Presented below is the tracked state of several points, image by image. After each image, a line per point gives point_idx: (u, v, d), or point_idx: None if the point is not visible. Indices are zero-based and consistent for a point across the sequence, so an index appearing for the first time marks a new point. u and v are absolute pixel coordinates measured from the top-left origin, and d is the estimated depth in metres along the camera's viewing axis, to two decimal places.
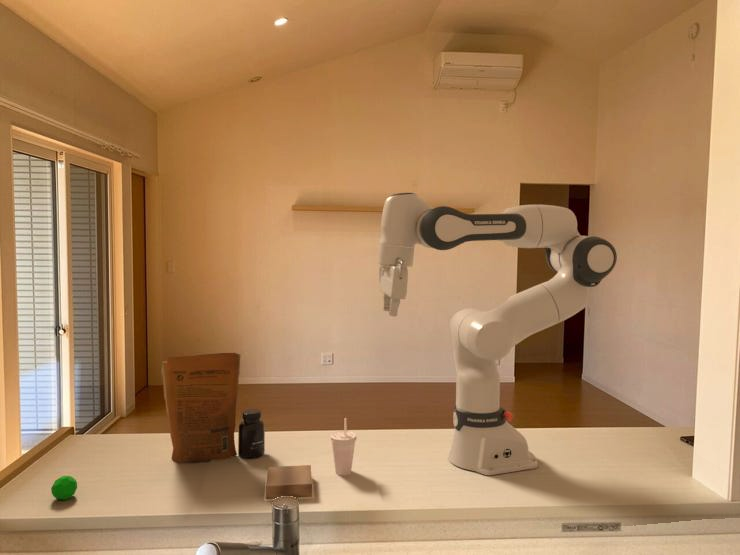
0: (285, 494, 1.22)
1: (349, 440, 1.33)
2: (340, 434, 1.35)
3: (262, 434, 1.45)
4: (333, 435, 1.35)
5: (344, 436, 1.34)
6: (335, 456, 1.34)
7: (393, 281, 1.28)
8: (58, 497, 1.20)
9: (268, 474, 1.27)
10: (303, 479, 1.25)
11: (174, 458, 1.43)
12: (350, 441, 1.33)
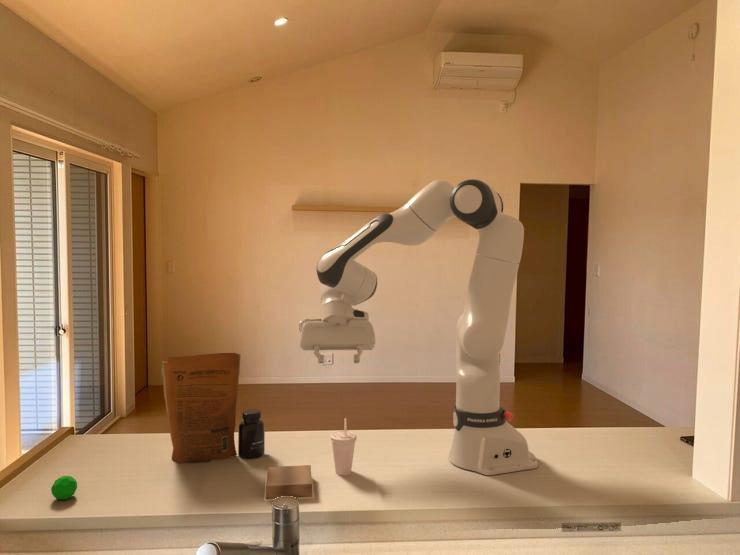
0: (285, 494, 1.22)
1: (349, 440, 1.33)
2: (340, 434, 1.35)
3: (262, 434, 1.45)
4: (333, 435, 1.35)
5: (344, 436, 1.34)
6: (335, 456, 1.34)
7: None
8: (58, 497, 1.20)
9: (268, 474, 1.27)
10: (303, 479, 1.25)
11: (174, 458, 1.43)
12: (350, 441, 1.33)
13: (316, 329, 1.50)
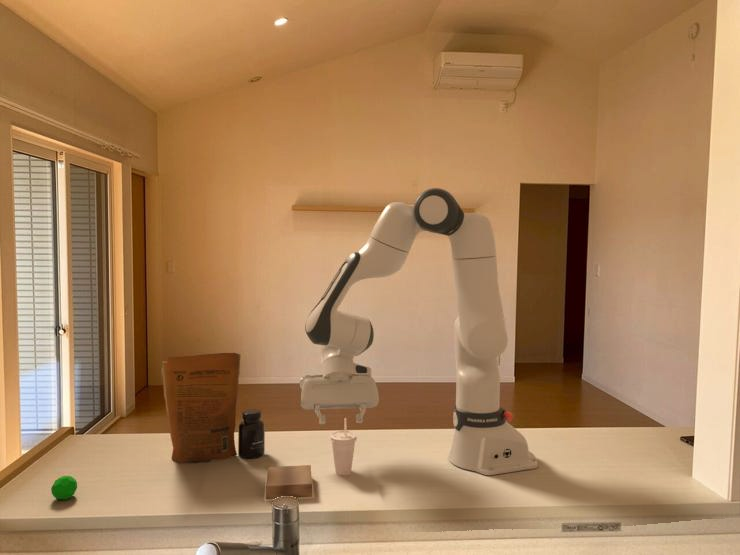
0: (285, 494, 1.22)
1: (349, 440, 1.33)
2: (340, 434, 1.35)
3: (262, 434, 1.45)
4: (333, 435, 1.35)
5: (344, 436, 1.34)
6: (335, 456, 1.34)
7: None
8: (58, 497, 1.20)
9: (268, 474, 1.27)
10: (303, 479, 1.25)
11: (174, 458, 1.43)
12: (350, 441, 1.33)
13: (317, 387, 1.45)
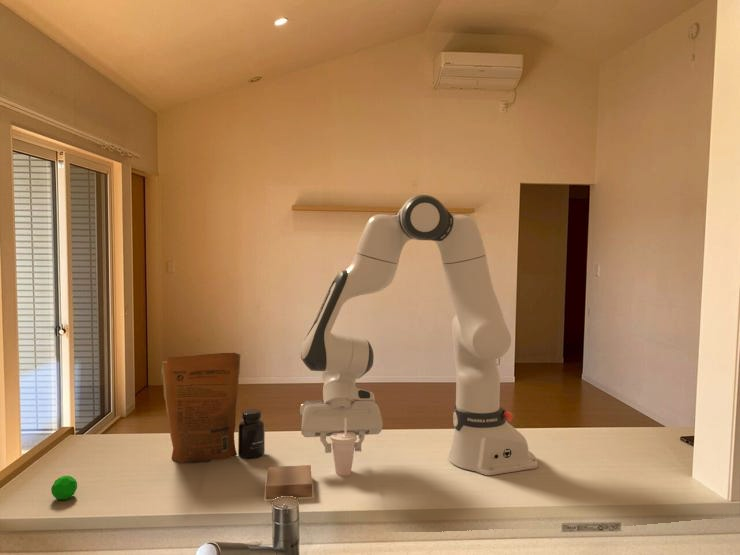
0: (285, 494, 1.22)
1: (349, 440, 1.33)
2: (340, 434, 1.35)
3: (262, 434, 1.45)
4: (333, 435, 1.35)
5: (344, 436, 1.34)
6: (335, 456, 1.34)
7: None
8: (58, 497, 1.20)
9: (268, 474, 1.27)
10: (303, 479, 1.25)
11: (174, 458, 1.43)
12: (350, 441, 1.33)
13: (318, 413, 1.39)
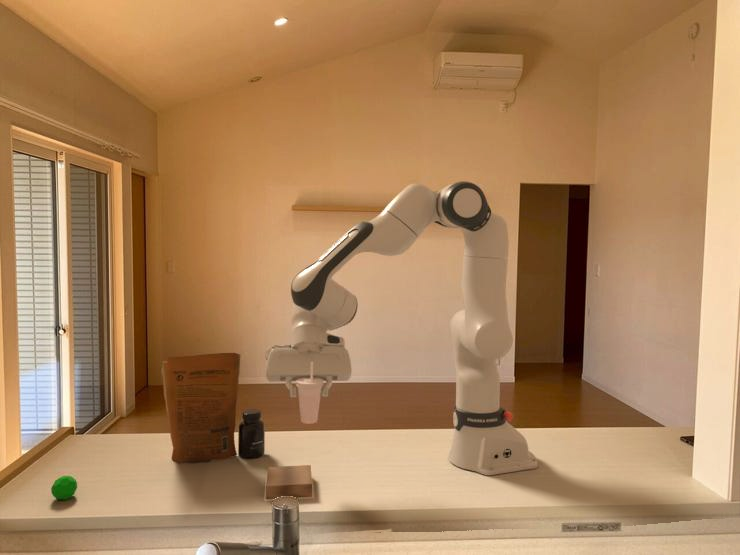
0: (285, 494, 1.22)
1: (315, 384, 1.26)
2: (306, 379, 1.29)
3: (262, 434, 1.45)
4: (299, 380, 1.29)
5: (310, 381, 1.28)
6: (300, 401, 1.28)
7: None
8: (58, 497, 1.20)
9: (268, 474, 1.27)
10: (303, 479, 1.25)
11: (174, 458, 1.43)
12: (316, 385, 1.27)
13: (284, 357, 1.33)
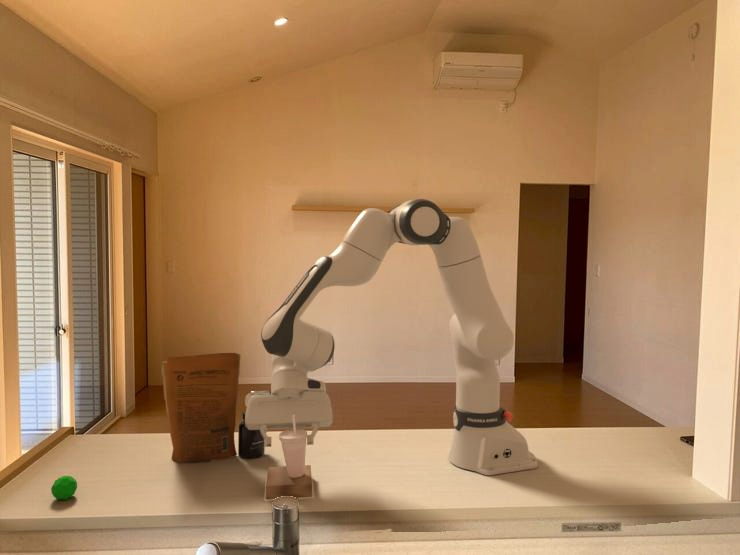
0: (285, 494, 1.22)
1: (298, 438, 1.24)
2: (290, 432, 1.27)
3: None
4: (282, 434, 1.27)
5: (293, 434, 1.25)
6: (285, 456, 1.25)
7: None
8: (58, 497, 1.20)
9: (268, 474, 1.27)
10: (303, 479, 1.25)
11: (174, 458, 1.43)
12: (299, 439, 1.24)
13: (264, 404, 1.30)
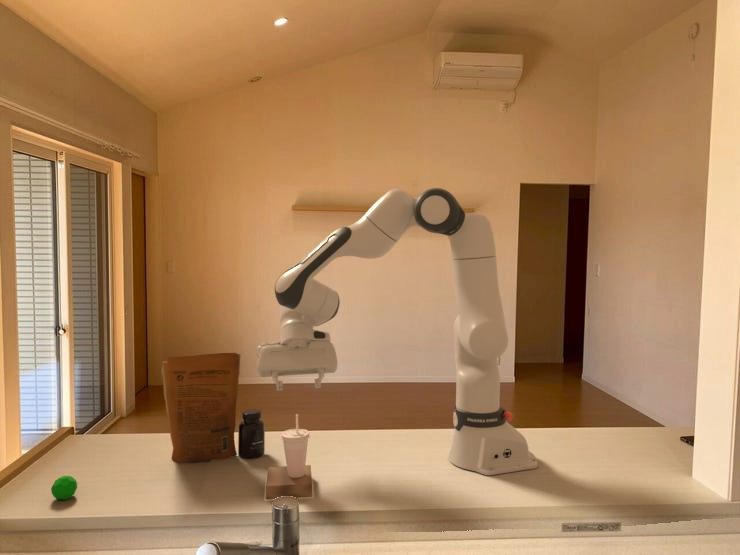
0: (285, 494, 1.22)
1: (300, 438, 1.24)
2: (292, 432, 1.27)
3: (262, 434, 1.45)
4: (284, 433, 1.27)
5: (295, 434, 1.26)
6: (286, 455, 1.25)
7: None
8: (58, 497, 1.20)
9: (268, 474, 1.27)
10: (303, 479, 1.25)
11: (174, 458, 1.43)
12: (301, 439, 1.24)
13: (274, 354, 1.42)
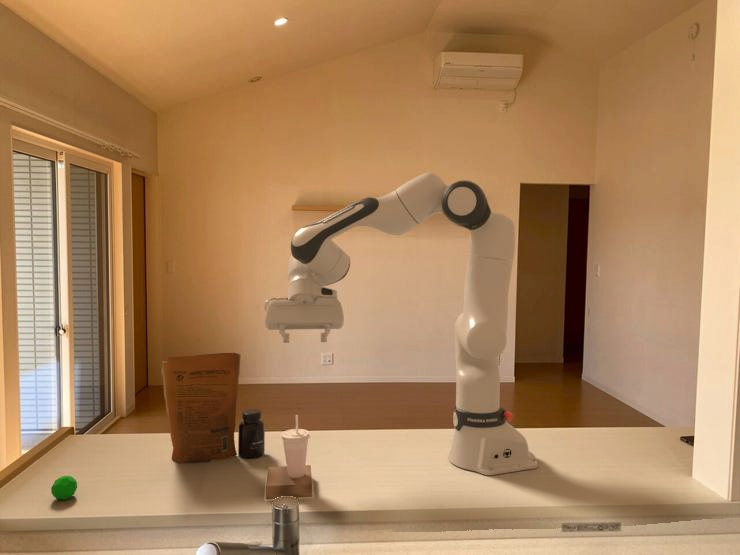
0: (285, 494, 1.22)
1: (300, 438, 1.24)
2: (292, 432, 1.27)
3: (262, 434, 1.45)
4: (284, 433, 1.27)
5: (295, 434, 1.25)
6: (286, 456, 1.25)
7: None
8: (58, 497, 1.20)
9: (268, 474, 1.27)
10: (303, 479, 1.25)
11: (174, 458, 1.43)
12: (301, 439, 1.24)
13: (282, 308, 1.45)
